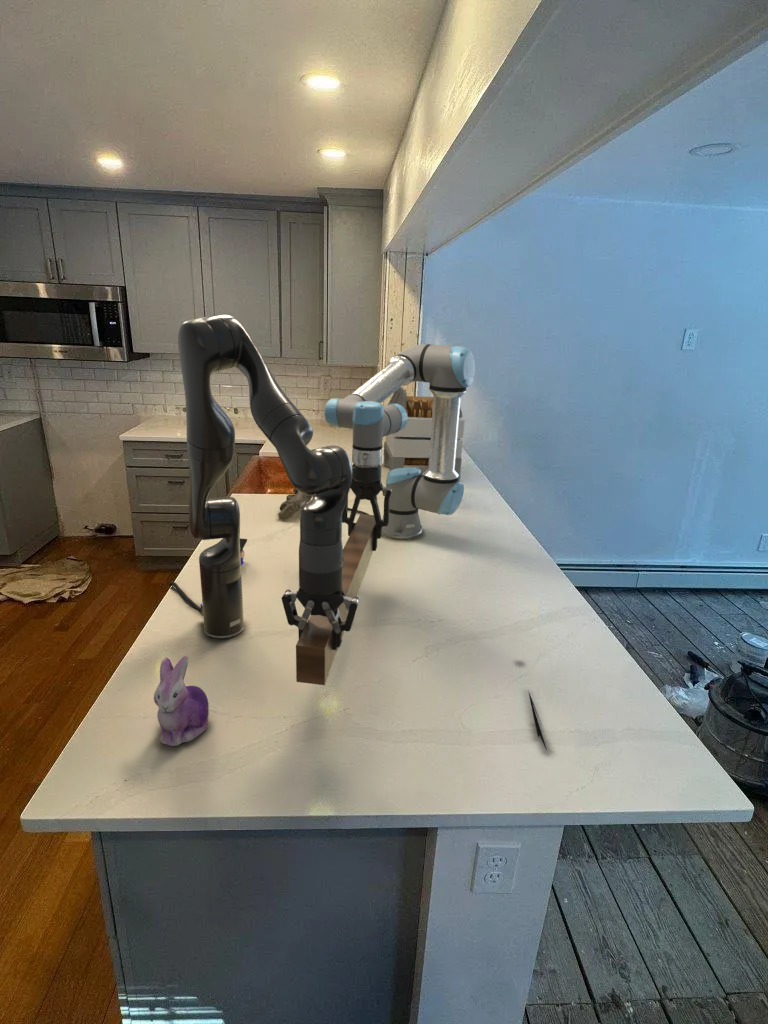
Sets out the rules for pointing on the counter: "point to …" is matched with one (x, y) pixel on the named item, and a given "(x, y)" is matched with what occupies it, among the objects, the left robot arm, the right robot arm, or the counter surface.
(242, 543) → the figurine character
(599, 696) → the counter surface
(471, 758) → the counter surface
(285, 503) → the fossil
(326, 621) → the post
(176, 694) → the figurine
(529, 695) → the feather
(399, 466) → the white wooden crate
